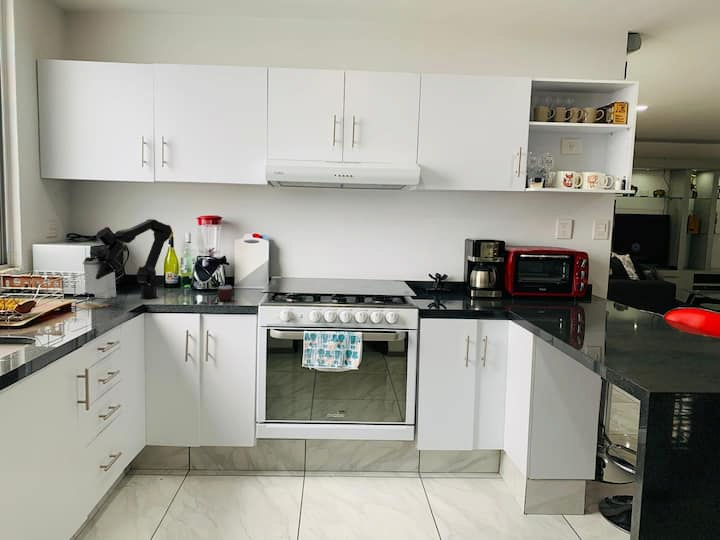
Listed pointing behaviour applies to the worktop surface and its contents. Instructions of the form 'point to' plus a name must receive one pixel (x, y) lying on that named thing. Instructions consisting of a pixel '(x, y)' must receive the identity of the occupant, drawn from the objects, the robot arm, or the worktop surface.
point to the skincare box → (108, 287)
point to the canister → (93, 277)
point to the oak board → (91, 305)
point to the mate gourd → (224, 292)
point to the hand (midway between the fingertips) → (92, 278)
